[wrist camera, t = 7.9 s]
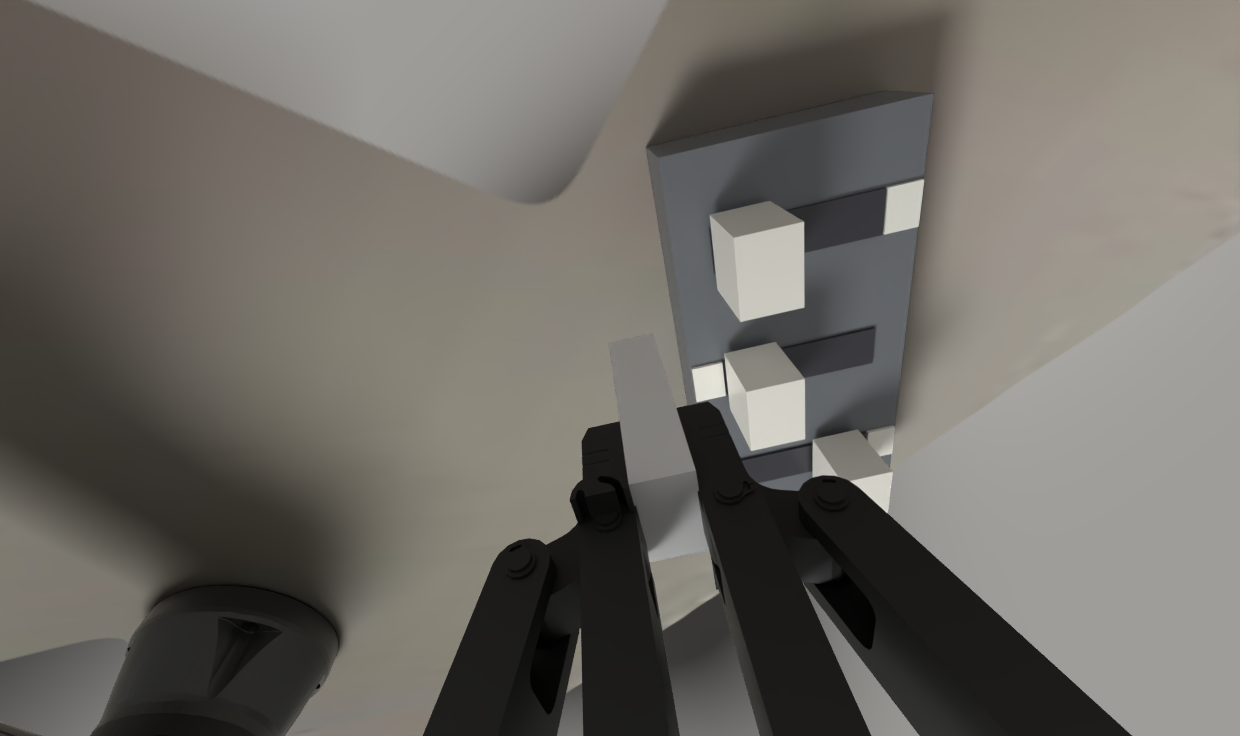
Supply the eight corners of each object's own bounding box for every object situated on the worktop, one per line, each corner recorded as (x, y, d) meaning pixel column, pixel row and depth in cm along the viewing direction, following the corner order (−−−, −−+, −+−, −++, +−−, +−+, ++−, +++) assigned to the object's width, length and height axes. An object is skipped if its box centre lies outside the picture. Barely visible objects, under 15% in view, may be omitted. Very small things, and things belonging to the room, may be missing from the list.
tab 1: (717, 289, 26) (740, 321, 23) (709, 214, 24) (733, 237, 21) (772, 276, 26) (804, 307, 23) (769, 200, 24) (804, 221, 21)
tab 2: (729, 408, 30) (750, 451, 27) (724, 353, 28) (746, 392, 25) (777, 397, 30) (805, 439, 27) (775, 341, 28) (804, 378, 25)
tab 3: (812, 482, 34) (839, 528, 31) (812, 439, 32) (842, 482, 29) (854, 473, 34) (887, 517, 31) (857, 429, 32) (892, 471, 29)
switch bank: (700, 488, 40) (714, 529, 36) (645, 147, 26) (658, 158, 23) (859, 454, 40) (888, 491, 36) (885, 90, 26) (936, 93, 22)
